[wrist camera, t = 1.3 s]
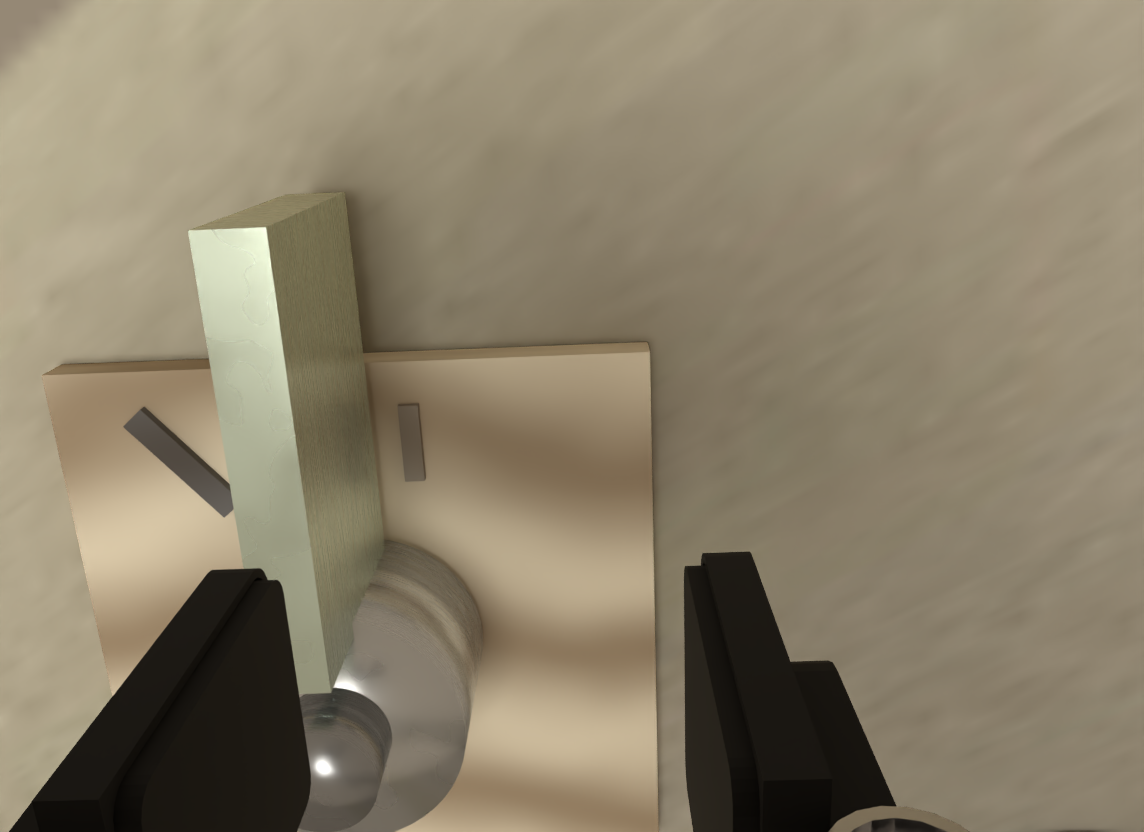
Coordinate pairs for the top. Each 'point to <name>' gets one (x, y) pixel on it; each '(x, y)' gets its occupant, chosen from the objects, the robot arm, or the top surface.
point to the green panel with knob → (332, 519)
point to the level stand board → (427, 548)
